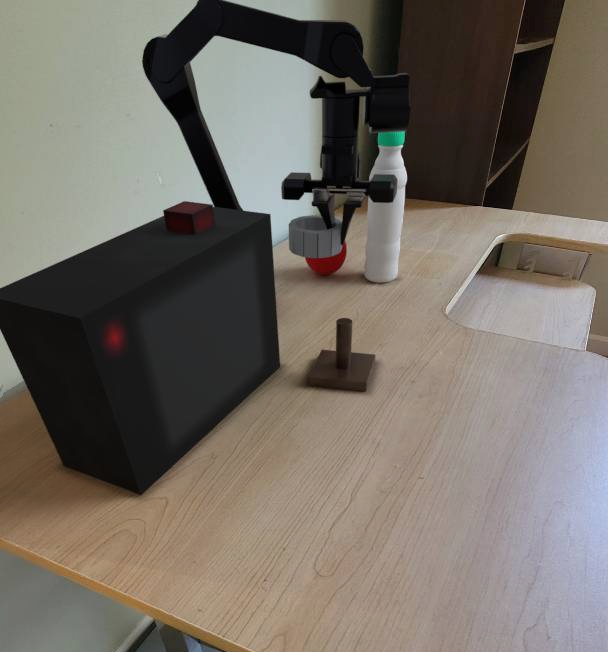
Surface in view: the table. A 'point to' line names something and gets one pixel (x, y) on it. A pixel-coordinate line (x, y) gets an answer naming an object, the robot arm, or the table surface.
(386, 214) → the water bottle
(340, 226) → the tape
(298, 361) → the table surface
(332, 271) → the ornament
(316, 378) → the stand
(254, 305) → the speaker
